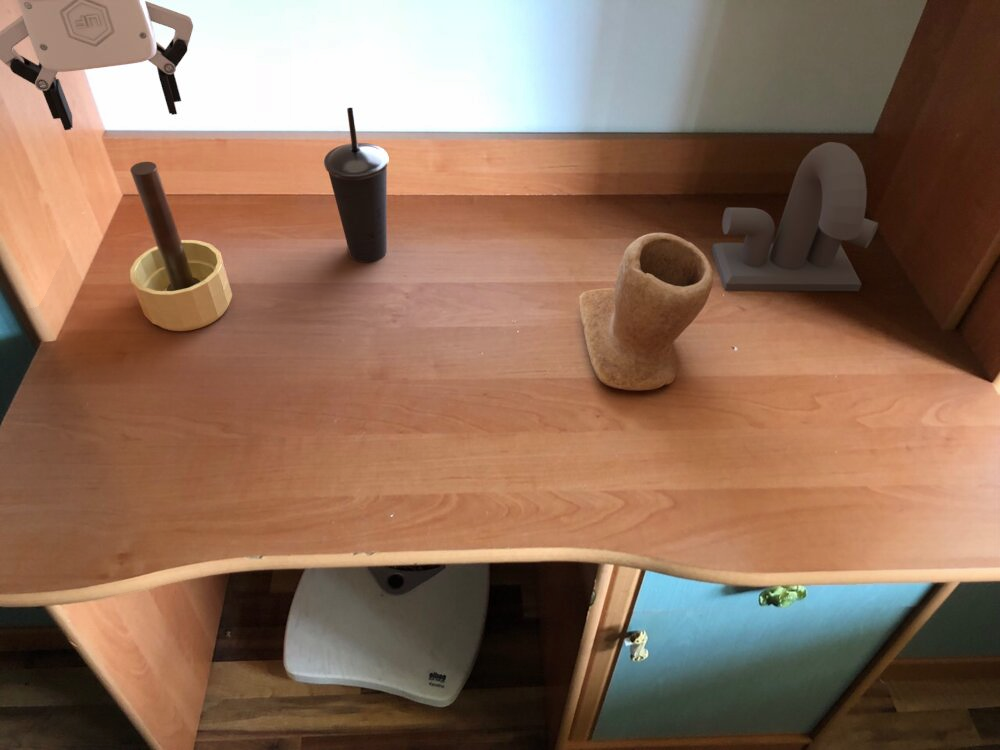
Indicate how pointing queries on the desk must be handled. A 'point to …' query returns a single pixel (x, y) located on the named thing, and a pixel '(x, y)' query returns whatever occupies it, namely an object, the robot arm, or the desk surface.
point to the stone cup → (645, 311)
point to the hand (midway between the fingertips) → (121, 116)
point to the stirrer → (162, 225)
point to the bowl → (186, 304)
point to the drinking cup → (360, 194)
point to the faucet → (802, 230)
